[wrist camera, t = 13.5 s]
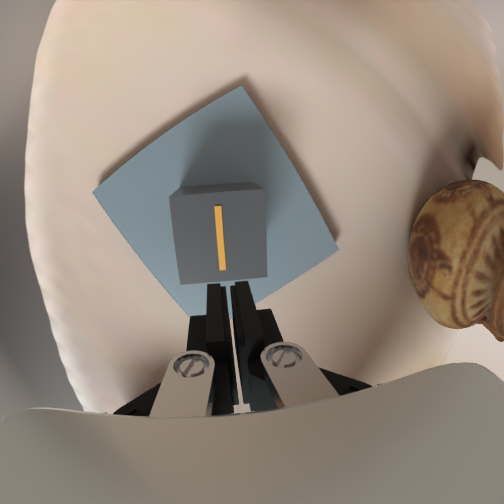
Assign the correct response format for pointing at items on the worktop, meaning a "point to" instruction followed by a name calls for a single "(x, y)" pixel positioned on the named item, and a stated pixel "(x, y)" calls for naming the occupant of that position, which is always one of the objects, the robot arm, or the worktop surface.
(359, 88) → the worktop surface
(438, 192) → the clay pot
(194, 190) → the dark grey cube
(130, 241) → the base
